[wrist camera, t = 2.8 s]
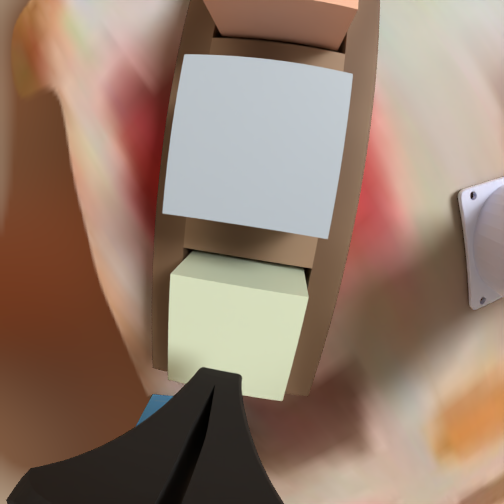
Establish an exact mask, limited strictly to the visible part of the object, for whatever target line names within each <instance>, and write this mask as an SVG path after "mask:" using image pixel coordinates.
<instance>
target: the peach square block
mask: <svg viewBox="0 0 504 504" xmlns="http://www.w3.org/2000/svg"><path fill="white" fill-rule="evenodd" d="M203 1H204V3H205V5H206V7H207V9H208V11H209V13H210V15H211V16H212V18H213V20H214V22H215V24H216V26H217V28H218V30H219V32H220V34H221V36H226V37H243V38H256V39H266V40H275V41H283V42H291V43H298V44H304V45H310V46H316V47H321V48H326V49H332V50H336V51H338V49H339V47H340V45H341V43H342V41H343V39H344V37H345V35H346V33H347V31H348V29H349V27H350V25H351V23H352V21H353V19H354V17H355V15H356V13H357V11H358V2H359V0H203Z"/></svg>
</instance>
